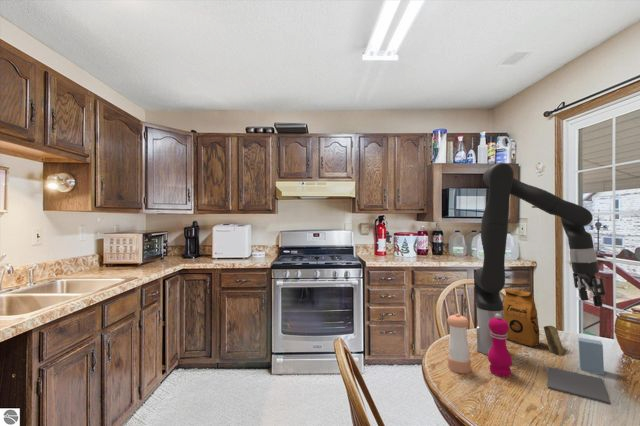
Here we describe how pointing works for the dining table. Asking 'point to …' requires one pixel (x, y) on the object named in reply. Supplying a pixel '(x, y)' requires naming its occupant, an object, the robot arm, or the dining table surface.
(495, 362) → the pepper mill
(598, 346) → the block
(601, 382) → the mat
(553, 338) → the rock
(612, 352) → the dining table surface
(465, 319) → the pepper shaker
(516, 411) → the dining table surface
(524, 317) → the coffee package
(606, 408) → the dining table surface
